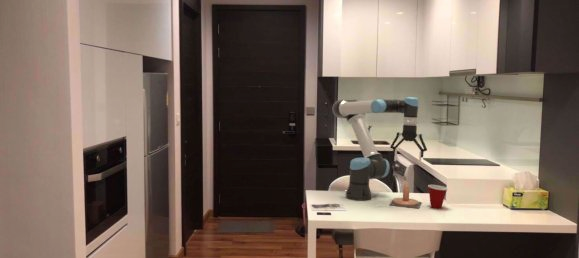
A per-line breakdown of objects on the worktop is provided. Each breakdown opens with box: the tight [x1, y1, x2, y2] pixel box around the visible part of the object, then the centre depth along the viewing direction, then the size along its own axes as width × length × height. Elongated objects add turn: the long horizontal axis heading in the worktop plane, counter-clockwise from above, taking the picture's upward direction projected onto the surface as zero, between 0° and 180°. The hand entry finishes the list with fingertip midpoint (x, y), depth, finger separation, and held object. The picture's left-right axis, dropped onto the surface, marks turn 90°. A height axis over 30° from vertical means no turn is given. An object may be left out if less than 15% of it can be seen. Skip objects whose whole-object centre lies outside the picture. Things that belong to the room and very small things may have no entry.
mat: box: [388, 199, 422, 210], centre depth 284 cm, size 16×15×1 cm
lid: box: [392, 184, 419, 206], centre depth 283 cm, size 14×14×10 cm
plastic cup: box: [427, 184, 448, 210], centre depth 278 cm, size 11×11×12 cm
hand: (407, 161), depth 282 cm, fingers open, 13 cm apart
